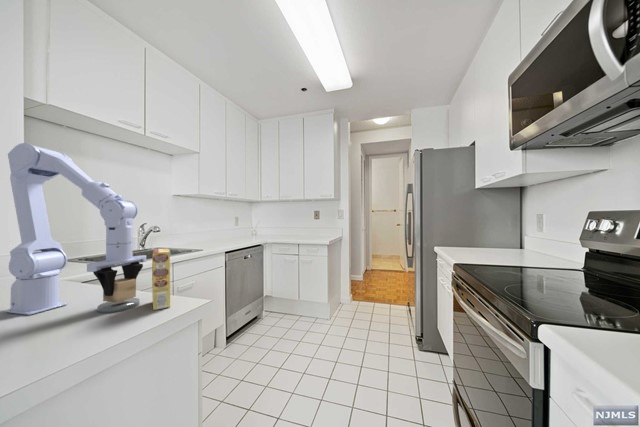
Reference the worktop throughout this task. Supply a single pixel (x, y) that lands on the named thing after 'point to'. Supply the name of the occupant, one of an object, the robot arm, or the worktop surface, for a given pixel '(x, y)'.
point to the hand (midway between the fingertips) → (119, 292)
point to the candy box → (161, 278)
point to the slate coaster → (117, 305)
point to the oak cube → (122, 290)
